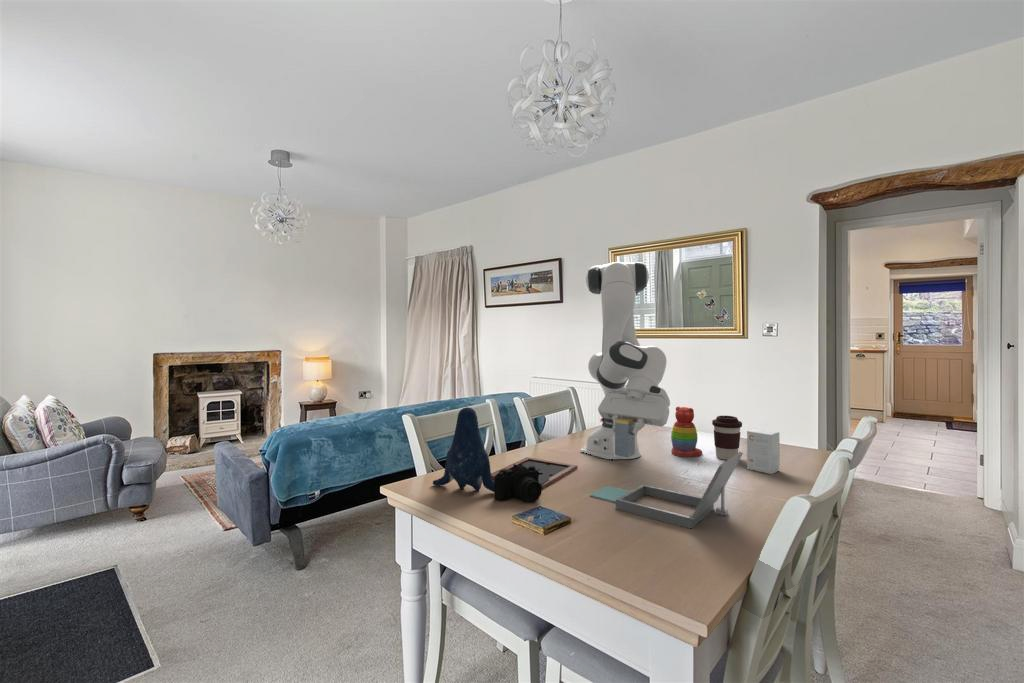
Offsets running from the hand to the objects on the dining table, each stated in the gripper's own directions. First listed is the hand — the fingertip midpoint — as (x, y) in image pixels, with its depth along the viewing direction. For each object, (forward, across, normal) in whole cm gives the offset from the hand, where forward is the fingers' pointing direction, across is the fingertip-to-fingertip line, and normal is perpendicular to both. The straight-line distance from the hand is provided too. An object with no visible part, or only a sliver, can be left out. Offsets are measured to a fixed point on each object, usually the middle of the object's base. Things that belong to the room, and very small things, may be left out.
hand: (623, 432), depth 136 cm
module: (+4, 0, +5) cm, 6 cm away
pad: (+13, -3, +13) cm, 19 cm away
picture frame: (+12, -34, +16) cm, 39 cm away
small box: (-24, +24, +51) cm, 61 cm away
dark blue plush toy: (+30, -38, -3) cm, 49 cm away
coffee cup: (-30, +10, +57) cm, 65 cm away
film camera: (+26, -22, +1) cm, 34 cm away
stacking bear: (-27, -4, +54) cm, 61 cm away
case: (+14, +16, +12) cm, 24 cm away
